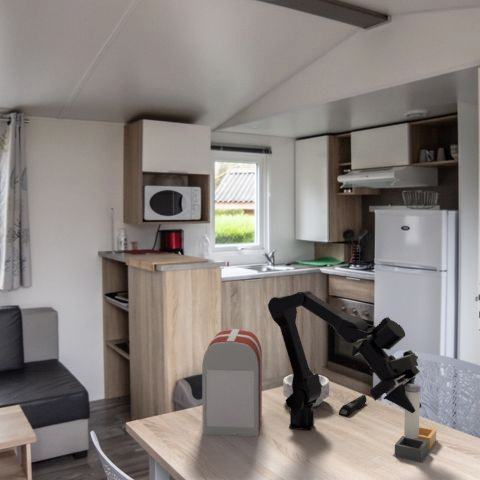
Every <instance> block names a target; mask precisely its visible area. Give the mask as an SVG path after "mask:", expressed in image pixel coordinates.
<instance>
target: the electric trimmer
mask: <svg viewBox="0 0 480 480" xmlns="http://www.w3.org/2000/svg"><path fill="white" fill-rule="evenodd" d="M366 403H367V396H366V395H365V394H362V395H360V396H359V397H357V398H355V399H353V400H351V401H349V402H348V403H346V404H343V405H342V406H341V407H340V408H339V411H338V415H339V416H342V417H350V416H351V413H353V412H354V411H356V410H358V409H361V408H362V407H363V406H364V405H365V404H366Z"/></svg>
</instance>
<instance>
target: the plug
mask: <svg viewBox="0 0 480 480" xmlns="http://www.w3.org/2000/svg"><path fill="white" fill-rule="evenodd" d="M405 394H406V396H407V397H408V399H409V401H410V402H411V404H412V405H413V407H414V409H415V412H414V413H411V412H409V411H407V410H406V409H404V425H403V426H404V432H403V434H404V435H403V436H406V437H408V438H413V439H415V438H418V437H419V426H420V409H419V407H420V403H421V401H420V397H421V395H420V394H421V385H419V384H416V383H414V384H406V385H405Z"/></svg>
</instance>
